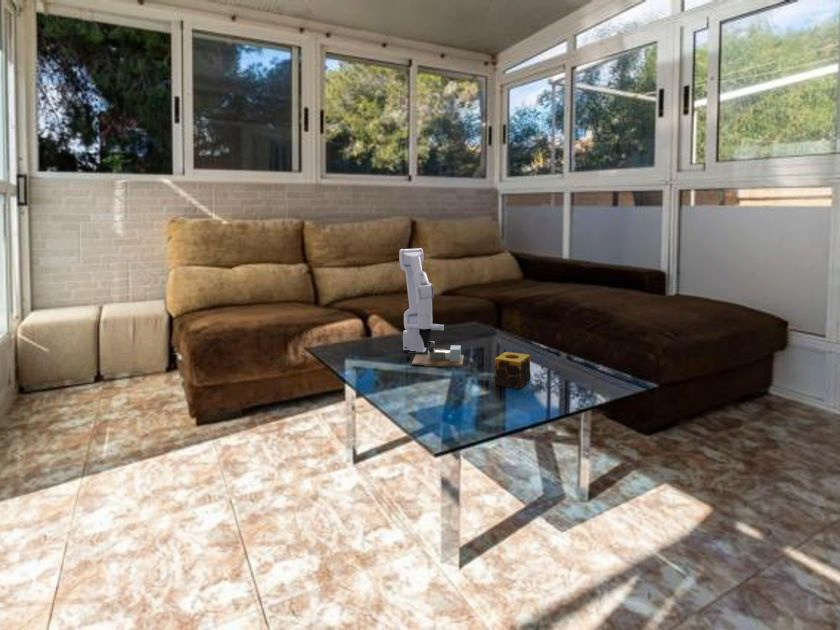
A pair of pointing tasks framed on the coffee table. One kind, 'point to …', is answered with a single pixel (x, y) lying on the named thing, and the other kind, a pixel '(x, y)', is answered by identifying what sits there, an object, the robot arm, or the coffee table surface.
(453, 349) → the block
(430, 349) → the bolt
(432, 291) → the robot arm
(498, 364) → the candle
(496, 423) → the coffee table surface
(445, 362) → the guide board
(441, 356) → the channel
